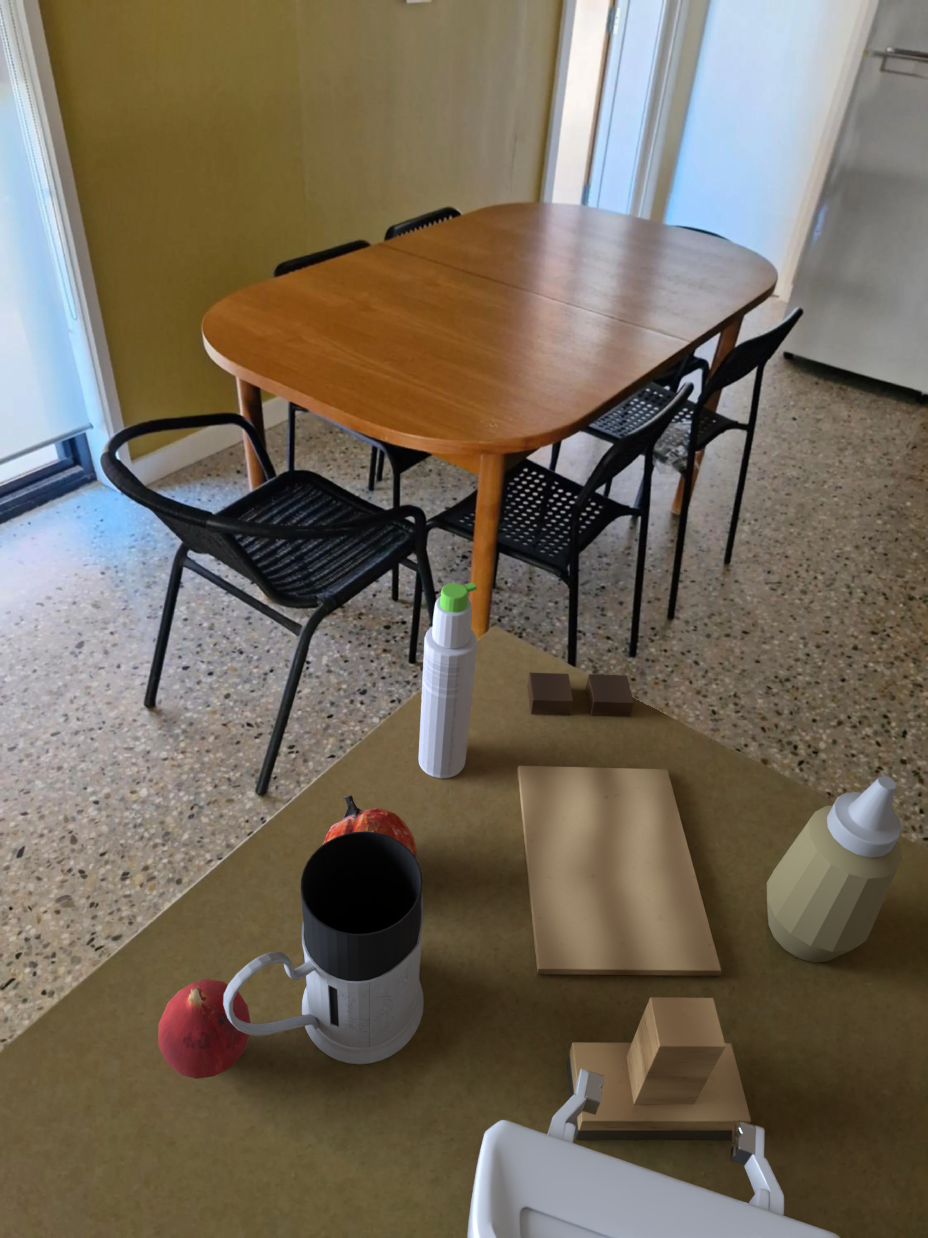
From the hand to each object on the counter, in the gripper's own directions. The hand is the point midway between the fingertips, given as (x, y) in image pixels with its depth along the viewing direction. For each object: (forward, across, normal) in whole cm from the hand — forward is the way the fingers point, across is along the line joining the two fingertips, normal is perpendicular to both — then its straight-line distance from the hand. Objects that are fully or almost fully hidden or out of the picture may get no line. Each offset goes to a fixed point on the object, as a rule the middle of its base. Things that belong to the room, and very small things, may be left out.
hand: (668, 1101), depth 53 cm
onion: (-3, +29, +8) cm, 30 cm away
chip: (+39, +15, +7) cm, 42 cm away
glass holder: (+1, +22, +8) cm, 24 cm away
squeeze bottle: (+20, -10, +8) cm, 24 cm away
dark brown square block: (+41, +9, +7) cm, 42 cm away
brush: (+3, 0, +7) cm, 8 cm away
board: (+21, +6, +7) cm, 23 cm away
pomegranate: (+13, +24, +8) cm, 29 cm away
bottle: (+27, +22, +8) cm, 36 cm away
